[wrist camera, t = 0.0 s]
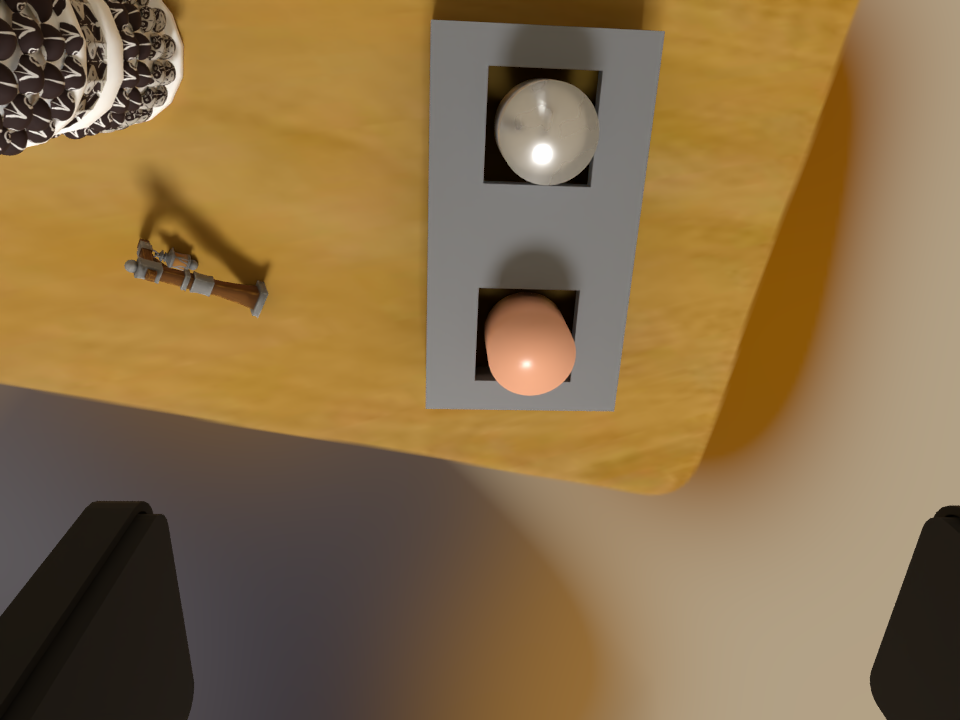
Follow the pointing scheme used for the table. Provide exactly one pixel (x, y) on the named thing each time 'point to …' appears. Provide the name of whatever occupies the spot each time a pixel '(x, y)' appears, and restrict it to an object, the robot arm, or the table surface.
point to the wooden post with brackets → (192, 277)
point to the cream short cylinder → (546, 130)
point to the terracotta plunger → (528, 344)
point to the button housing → (533, 208)
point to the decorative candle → (83, 67)
